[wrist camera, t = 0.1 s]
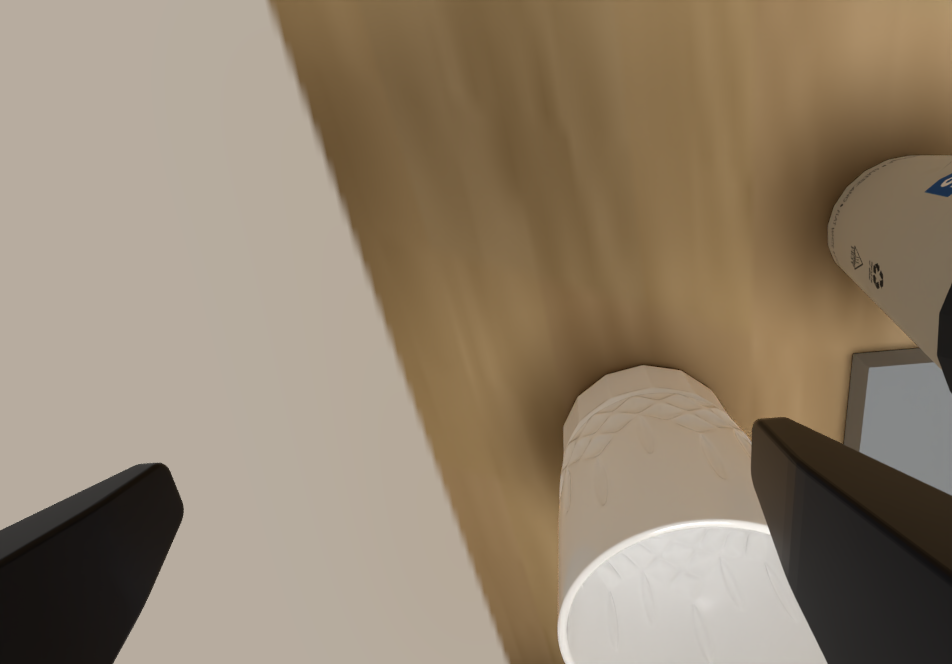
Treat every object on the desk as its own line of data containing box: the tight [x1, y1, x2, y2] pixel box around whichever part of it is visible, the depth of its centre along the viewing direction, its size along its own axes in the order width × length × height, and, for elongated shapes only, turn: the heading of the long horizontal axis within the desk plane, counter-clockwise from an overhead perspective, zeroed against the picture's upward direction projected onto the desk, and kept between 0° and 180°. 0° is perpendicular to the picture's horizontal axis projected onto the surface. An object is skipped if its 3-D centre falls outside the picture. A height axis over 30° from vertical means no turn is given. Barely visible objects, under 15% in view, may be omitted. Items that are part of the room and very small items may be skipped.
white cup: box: [557, 365, 827, 664], centre depth 21 cm, size 8×8×10 cm
